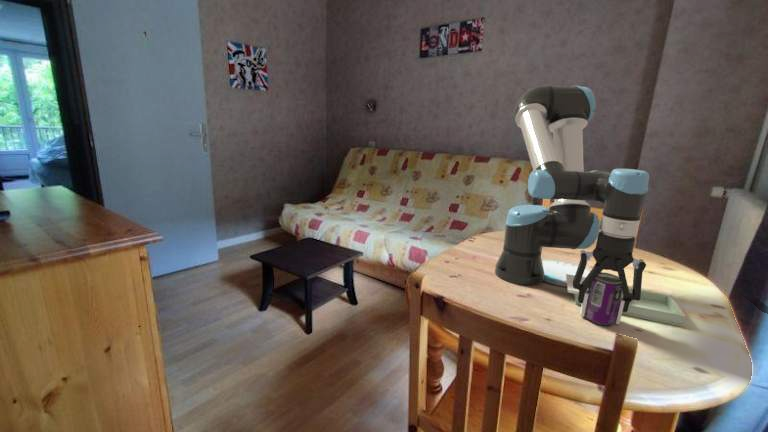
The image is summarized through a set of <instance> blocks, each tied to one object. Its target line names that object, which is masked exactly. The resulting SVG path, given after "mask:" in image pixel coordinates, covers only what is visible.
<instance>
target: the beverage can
mask: <svg viewBox="0 0 768 432" xmlns="http://www.w3.org/2000/svg"><path fill="white" fill-rule="evenodd" d="M621 283H622V282H621V281H620V279H619V276H618V275H616V274H612V273H609V272H603V271H602V272H601V273H599V274H598V276H597V277H595V280H594V281H593V282H592V284H591V285H590V286H589V289H588V294H589V295H588V300H587V305H586V310H585V314H584V317H585V318H587V319H588V320H589V321H591V322H593V323H594V324H598V325H601V326H610V325H615V324H616V323H615V321H616V317H617V313H618V308H619V304H620V300H621V295H622V291H623V288H622V285H621Z"/></svg>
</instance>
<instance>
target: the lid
mask: <svg viewBox="0 0 768 432" xmlns="http://www.w3.org/2000/svg"><path fill="white" fill-rule="evenodd" d="M565 277H566V278H565V279H566V288H567V293H569V294H573V295H574V294H579V290H578V289H575V288H573V280H574V277H575V274H574V275H573V274H568V273H566V275H565ZM586 277H587V276H586ZM586 277H584V276H582V279H581V281H580V284H582V282H583V281H584V279H585V278H586ZM588 289H589V288H588ZM588 289H587V290H588Z"/></svg>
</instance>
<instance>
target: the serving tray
mask: <svg viewBox="0 0 768 432" xmlns="http://www.w3.org/2000/svg"><path fill="white" fill-rule="evenodd" d="M628 289H629V293H632V290H633V287H628ZM578 295H579V294H574V293H573V297H574V298H573V299H574V304H575V305H577V306H581V303H579V302H578ZM621 296H623V292H622V295H621ZM622 315H625V316H630V317H635V318H639V319H643V320H644V319H646V320H648V321H649V320H650V321H653V322H659V323H662V324H667V325H668V324H669V325H672V326H677V327H682V328H683V327H684V323H685V320H686V314H685V313H684V311H683V310H682V309H681V308H680V307H679V305H678V303H677V302H676V301H675V299H674V298H673V296H672V295H671V294H664V293H660V292H656V291H655V292H653V291H649V290H644V289H643V290H642V289H641V297H640V300H639V301H637V300H632V301H631V302H630V303H629V307H628V311H627V312H623V311H622Z"/></svg>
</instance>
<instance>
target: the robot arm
mask: <svg viewBox="0 0 768 432" xmlns="http://www.w3.org/2000/svg"><path fill="white" fill-rule="evenodd" d="M595 110H596V97H595V93H594V92H593V90H591V89H590V88H589V87H587V86H578V85H572V86H569V85H566V86H565V85H563V86H562V85H537V86H535V87H532V88H530V89H529V90H527V91H526V92H524V94H522V96H520V98H519V99H518V100H517V103H516V104H515V107H514V113H513V115H514V116H513V117H514V120H515V124H516V125H517V127H518V128H520V129H521V133H522V137H523V140H524V143H525V147H526V150H527V154H528V157H529V160H530V164H531V167H532V171H531V172H530V174H529V176H528V179H527V186H528V187H527V191H528V194H529V196H530V197H532V198H535V199H543V200H553V201H554V202H552V204H550V205H549V207H547V206H544V205H540V204H536V205H535V204H522V205H517V206H514V207H512V208H510V209H509V210H508V212H507V217H506V220H505V231H504V238H503V239H504V240H503V248H502V252H501V253H500V255H499V257H498V259H497V261H496V264H495V268H494V273H495V274H496V276H498V277H499V278H500V279H502V280H505V281H506V282H509V283H512V284H517V285H521V286H522V285H524V286H528V285H529V286H534V285H539V284H541V283H543V281H544V278H545V270H544V266H543V265H544V264H543V260H542V253H543V251H542V250H543V248H551V249H552V248H553V249H554V248H555V249H570V250H580V251H579V254H580V260H579V263H578V266H577V269H576V272H575V274H574V275H575V277H574V280H573V288H575V289H578V290H579V295H578V302H579V303H581V305H580V307H579V313H580V316H581V317H585V315H584V314H585V310H586V305H587V300H588V295H589V294H588V290H587V289H588V288H589V286H590V285H591V284H592V282H593V281H594V280H595V277H597V276H598V274H599V273H601V272H603V270H605V271H611V272H615V273H617V274H618V275H617V276H618V277H619V279H620V281H621V282H622V283H621V285H622V288H623V291H622V292H623V296H621V300H620V304H619V308H618V313H617V317H616V321H615V323H614V324H615V325H620V323H621V321H622V320H621V319H622V316H623V314H622V311H623V312H627V311H628V307H629V303H630V302H631V301H632V300H637V301H639V300H640V297H641V290H642V283H643V282H642V281H643V272H644V270H645V269H646V267H647V263H646V262H645V260H644V259H642V258H641V259H640V258H639V259H638V258H635V257H634V256H633V253H634V248H635V243H636V238H635V236H637V235H638V229H639V226H640V225H639V224H640V221H641V216H642V213H643V209H644V206H645V202H646V198H647V193H648V191H649V181H650V175H649V174H650V173H648V172H647V171H645V170H643V169H642V170H640V169H633V168H614V169H612V171H611V172H609V171H606V170H597V169H596V170H591V171H584V170H585V168H584V139H583V136H584V134H583V129H585V128H586V127H588V123H589V122H590V121H592V119H593V117H594V114H595ZM587 201H595V202H600V203H603V210H602V215H601V218H599V216H598V215H597V214H596V213H594V212H592V211H591V205H590V204H589V203H588V202H587ZM548 208H549V209H548ZM600 219H601V221H600ZM595 242H596V245H595V248H594V249H593V250H592V251H585V250H586V249H589V248H591V247H592V246H593V245H594V244H595ZM591 258H594V260H595V264H594V265H593V266H592V269H591V270H590V271H589V273H588V274H587V275H586V278H585V279H584V281H583V282H582V284H580V281H581V279H582V277H584V273H585V270H586V268H587V264H588V262H589V261H590V260H591ZM630 264H632V266H633V277H632V279H633V280H632V288H633V290H632V293H629V289H628V288H629V286H628V281H627V277H626V273H625V272H626V271H625V268H627V267H628V266H629V265H630Z"/></svg>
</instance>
